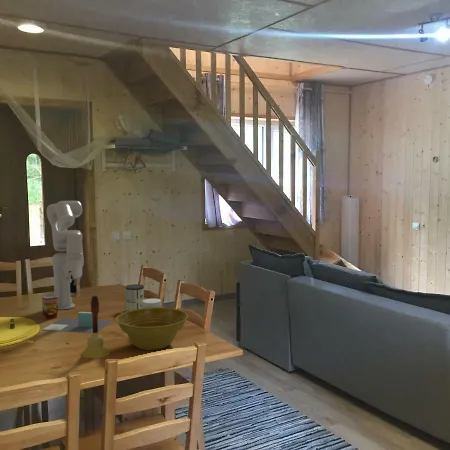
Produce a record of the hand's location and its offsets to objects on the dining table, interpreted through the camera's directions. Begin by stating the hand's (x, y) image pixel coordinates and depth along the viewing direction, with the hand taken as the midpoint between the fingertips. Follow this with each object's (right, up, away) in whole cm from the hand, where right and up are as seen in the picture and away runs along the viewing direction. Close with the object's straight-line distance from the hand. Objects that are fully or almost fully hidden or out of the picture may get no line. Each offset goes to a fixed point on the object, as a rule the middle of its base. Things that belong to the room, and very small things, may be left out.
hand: (75, 291), depth 263 cm
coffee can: (+26, -15, +27) cm, 40 cm away
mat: (+3, -17, -5) cm, 18 cm away
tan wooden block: (0, -3, 0) cm, 3 cm away
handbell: (+22, -21, -43) cm, 53 cm away
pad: (-7, -17, -10) cm, 21 cm away
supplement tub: (+41, -18, -9) cm, 46 cm away
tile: (+8, -17, -7) cm, 20 cm away
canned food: (-16, -16, +10) cm, 25 cm away
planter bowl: (+44, -20, -32) cm, 59 cm away
